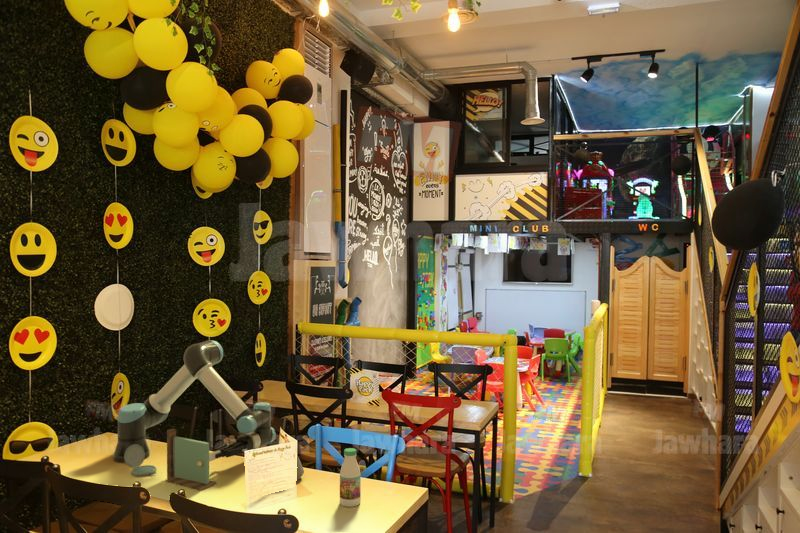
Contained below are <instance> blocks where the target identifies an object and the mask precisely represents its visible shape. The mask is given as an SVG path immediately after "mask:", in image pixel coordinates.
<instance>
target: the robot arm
mask: <svg viewBox="0 0 800 533" xmlns="http://www.w3.org/2000/svg"><path fill="white" fill-rule="evenodd" d="M223 358H224V349H223V347H222V345H221V344H220V343H219V342H218V341H217V340H205V341H202V342H198V343H193V344H191V345H189V346H188V347H187V348H186V349H185V351H184V354H183V362H184V364H183V365H182V367H181V368H179V369H178V371H177V372H176V373H174V375H173V376H172V377H171V378H170V379H169V380H168V381H166V383H165V384H164V386H163V387H162V388H161V389H160V390H158V392H157V393H153V394H151V395H149V397H147V398H146V400H144V402H143V403H140V402H134V403H130V404H125V405H123V406H122V407H121V406H120V408H119V409H118V410H117V417H116V420H117V443H116V446H115V449H114V451H113V457H112V458H113V461H115V462H117V463H125V460H124V454H125V451H126V450H127V448H128V447H129V446H131V445H134V444H138V445H140V446H141V447H142V448H143V449H144V452H145V458H144V460H145V459H147V458H148V457H150V449H149V448H150V447H149V444H148V443H147V440H146V430H148V429H149V428H151V427H154V426H156V425H157V426H158V425H159V424H161V423H162V422H164V421H165V420H166V419H167V417H168V416H169V412H170V411H171V406H172V405H173V403H174V402H175V401H176V400H177V399H178V398H179V397H180V396H181V395H182V394H183V393H184V392H185V391H186V390H187V388H189V387H190V386H191V385H192V384H193V383H194V382H195V380H199V381H200V382H201V383H202V385H204V387H205V388H206V389H207V390H208V392H210V393H211V395H212V396H213V397H214V398H215V399H216V400H217V401H218V402H219V403H220V405H221V406H222V407H223V408H224V409H225V410H226V412H228V414H229V415H230V416H231V417H232V418H233V419H234V421H236V422H237V423H236V428H237V431H238V432H239V433H240V434H243V435H242V436H241V435H240V436H238V437H237V439H236V440H235V441H233V442H231V443H228V442H226V441H225V442H224V443H223V444H221V445H220V446H217V447H216V448H214V451H213V452H209V463H210V462H212V461H215V460H218V459H220V458H229V457H234V456H238V455H241V454H245V453H244V451H245V450H249V449H253V448H257V449H260V448H262V447H264V446H268V445H269V444H271V443H272V442H274V441H275V440H276V436H277V433H276V430H275V428H274V427H272V426H271V425H272V424H271V423H272V422H271V420H272V418H271V416H272V415H271V412H272V410H271V409H272V408H271V403H269V402H265V401H262V402H261V401H260V402H256V403H254V404H253V411H252V410H251V409H250V408H249V407H248V406H247V404H246V403H245V402H244V401H243V399H241V397H239V395H238V394H237V393H236V392H235V391H234V390H233V388H231V386H229V384H228V383H227V382H226V381H225V380H224V379H223V378H222V377H221V375H219V373H218V372H217V371H216V370H215V368H214V367H213V366H216V365H217V364H219V363H220V362H221V361H222V359H223Z"/></svg>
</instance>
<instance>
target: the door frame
mask: <svg viewBox="0 0 800 533" xmlns="http://www.w3.org/2000/svg"><path fill="white" fill-rule="evenodd" d="M174 436H177V428H171V429H168V430H166V479H165V482H167V483H170V484H174V485H177V486H182V487H185V488H189V489H193V490H198V491H204V490H207V489H209V488H211V487H213V486H216V485H217V484H218V483H217V481H213V480H210V479H209V483H208V484H204V483H200V482H196V481H192V480H188V479H183V478H179V477H175V476H173V437H174Z"/></svg>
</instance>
